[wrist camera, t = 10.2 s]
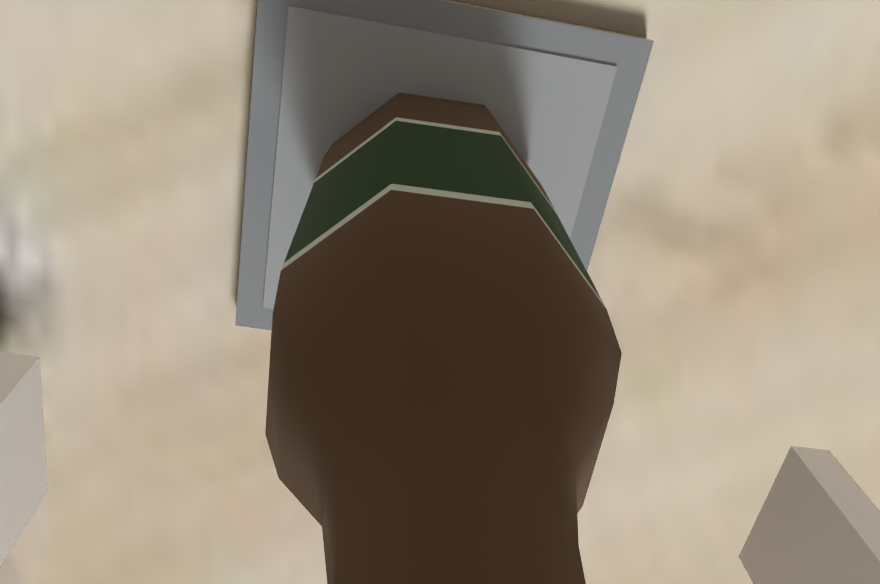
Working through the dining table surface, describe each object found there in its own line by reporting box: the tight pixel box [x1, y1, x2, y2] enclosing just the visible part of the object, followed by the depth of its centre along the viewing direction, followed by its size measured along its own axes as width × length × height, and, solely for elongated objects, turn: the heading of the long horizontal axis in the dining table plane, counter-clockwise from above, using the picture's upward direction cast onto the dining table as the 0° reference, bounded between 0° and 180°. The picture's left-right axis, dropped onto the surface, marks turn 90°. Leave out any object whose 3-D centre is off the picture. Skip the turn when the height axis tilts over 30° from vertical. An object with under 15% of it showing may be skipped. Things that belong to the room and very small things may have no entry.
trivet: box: [235, 0, 654, 330], centre depth 27 cm, size 13×13×1 cm
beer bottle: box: [266, 93, 621, 584], centre depth 16 cm, size 8×8×24 cm
